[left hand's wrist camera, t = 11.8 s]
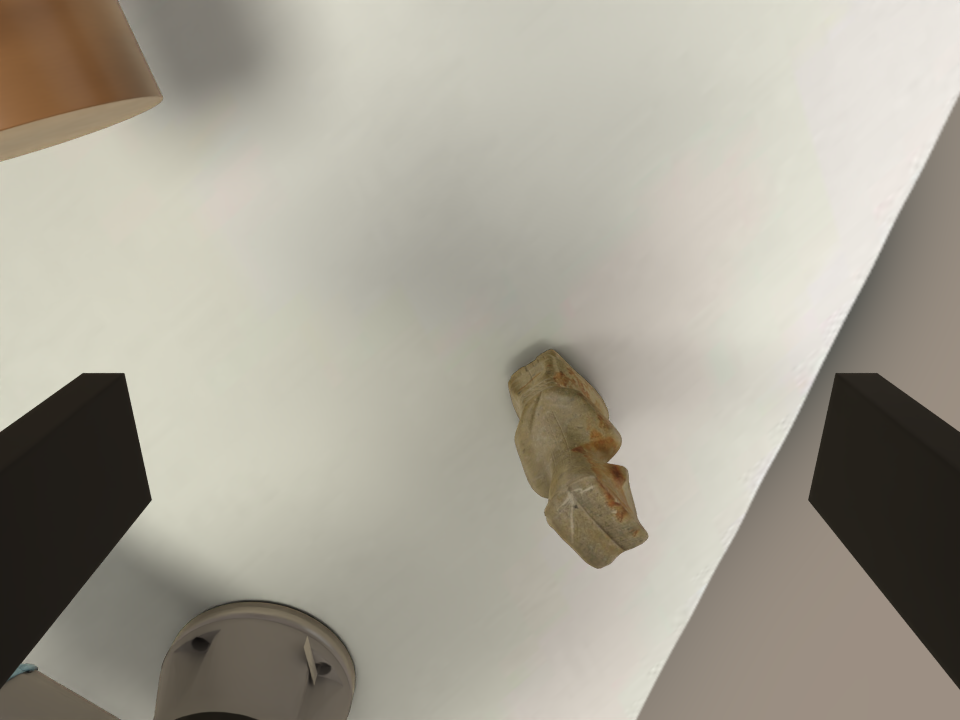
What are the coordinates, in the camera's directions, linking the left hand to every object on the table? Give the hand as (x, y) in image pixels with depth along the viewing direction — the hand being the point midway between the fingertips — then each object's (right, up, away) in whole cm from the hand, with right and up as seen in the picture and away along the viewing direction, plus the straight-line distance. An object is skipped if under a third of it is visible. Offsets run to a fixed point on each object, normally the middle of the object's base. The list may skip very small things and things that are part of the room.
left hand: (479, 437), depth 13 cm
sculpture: (+5, 0, +33) cm, 34 cm away
